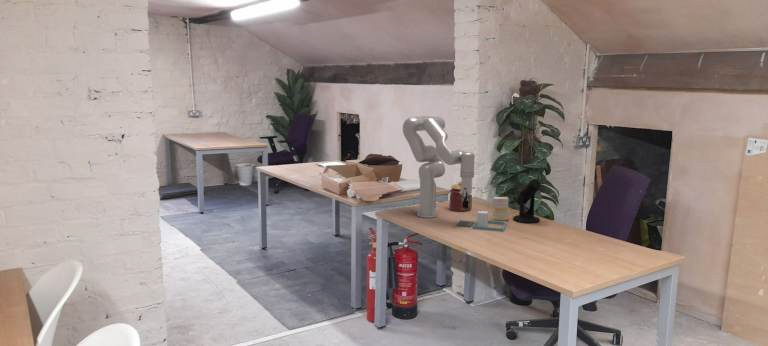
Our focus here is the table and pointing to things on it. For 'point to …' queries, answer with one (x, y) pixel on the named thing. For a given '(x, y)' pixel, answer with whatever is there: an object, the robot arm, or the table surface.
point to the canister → (456, 198)
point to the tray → (490, 227)
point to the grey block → (482, 218)
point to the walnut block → (469, 203)
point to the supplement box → (500, 208)
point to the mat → (465, 223)
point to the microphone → (523, 198)
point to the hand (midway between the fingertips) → (466, 206)
